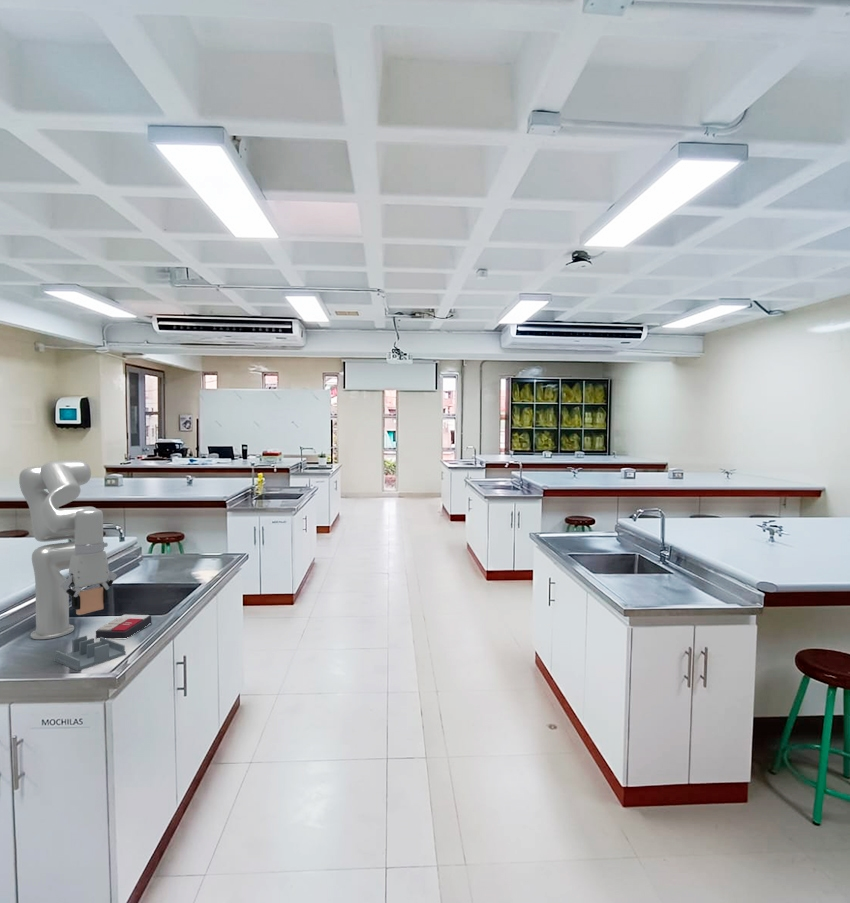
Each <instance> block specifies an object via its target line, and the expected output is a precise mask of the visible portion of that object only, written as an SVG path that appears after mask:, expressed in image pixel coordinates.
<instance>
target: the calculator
mask: <svg viewBox="0 0 850 903" xmlns="http://www.w3.org/2000/svg"><path fill="white" fill-rule="evenodd" d="M149 623H151V624H152V616H151V615H150V614H123V615H121V616H119V617H117V618H114V619H113V620H111V621H109V622H107V623H105V624H104V625H102V626H100V627H99V628H97V630H95V638H96V639H97V638H100V637H103V638H127V637H129V638H130V637H132V636H134V635H135V634H134V633H136V632H137V631H139V630H140V631H142V630H143V629H142V628H144V627H145V626H147V625H148V624H149ZM141 629H142V630H141ZM144 629H145V628H144ZM140 631H139V632H140ZM137 633H138V632H137ZM137 633H136V634H137ZM133 634H134V635H133ZM131 635H132V636H131ZM127 639H128V638H127Z"/></svg>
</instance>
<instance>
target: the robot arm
mask: <svg viewBox="0 0 850 903" xmlns="http://www.w3.org/2000/svg"><path fill="white" fill-rule="evenodd" d="M91 475H92V471H91V468H90V465H89V464H88V463H87V462H86V461H83V460H77V459H74V460H73V459H72V460H71V459H70V460H52V461H49V462H46V463H44V464H43V465H36V466H35V465H34V466H29V467H26V468H24V469H22V470H21V472H20V473H19V477H18V479H19V480H18V481H19V488H20V491H21V493H22V495H23V497H24V499H25V502H26V503H27V505H28V508H29V513H30V514H29V515H30V521H31V527H32V533H33V537H34V539H35V540H36V541H37V542H42V543H48V542H56V541H63V540H70V541H67V542H58V543H57V542H56V543H50V544H45V545H42V546H41V545H40V546H39V547H37V548H35V549H34V550H33V551H32V553H31V561H32V562H31V563H32V567H33V573H34V583H35V585H34V586H35V589H34V590H35V592H34V593H35V630H33V631H32V632H31V633H30V638H31V639H33V640H48V639H49V640H51V639H55V638H59V637H64V636H66V635H69V634H71V633H72V632H73V631H75V626H74V625H73V624H70V605H69V604H70V602H69V601H70V597H71V607H72V608H73V609H74V610H76V609H77V610H79V609H80V596H78V595H79V593H80V591H81V590H83V589H82V588H86V587H91V586H95V585H98V586H101V587H103V604H106V603H107V602H108V601H107V600H108V590H109V589H110V587H111V585H112V584H113V583H114V581H115V580H116V578H117V577H118V575H117V574H116V573H115V572H113V571H111V570H109V561H108V556H107V552H106V550H105V548H106V547H108V542H105V541H104V513H103V510H101V509H98V508H96V507H94V506H78V507H64V508H60V507H62V506H65V505H67V504H70V503H71V502H73V501H75V500H76V499H78V497H79V496H80V494H81V486H82V485H85V484H87V483H88V482H89V481H90V479H91ZM46 490H47V491H46ZM65 570H68V577H66V576H65V575H63V574H62V573H61V572H60V571H65ZM69 586H70V587H72V588H70V587H69Z"/></svg>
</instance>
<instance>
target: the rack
mask: <svg viewBox="0 0 850 903" xmlns="http://www.w3.org/2000/svg"><path fill="white" fill-rule="evenodd" d="M71 640H72V641H71V644H72V645H71V646H72V649H71V650H72V651H71V652H69V653H65V652H62V651H59V650H55V656H54V662H56V663H58V664H60V665H63V666H65V667H68V668H70V669H72V670H74V671H78V672H79V671H81V670H84V669H88V668H91V667H93V666H94V667H95V665H99V664H103V663H105V662H107V661H111V660H114V659H116V658H119V657H122V656H125V655H127V654H126V646H125V645H124V644H122V643H119V642H116V641H113V640H112V639H105V638H103V637H100V639H99V641H96V642H95V638H94V637H91V638H89V639H88V635H83V636H80V637H77V638H73V639H71Z"/></svg>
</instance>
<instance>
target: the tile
mask: <svg viewBox="0 0 850 903" xmlns="http://www.w3.org/2000/svg"><path fill="white" fill-rule="evenodd" d="M78 596H80V609H79V610H77V609H75V614H76V615H78V616H81V615H85V614H90V613H93V612H96V611H101V610H104V603H103V587H101V586H99V585H98V586H94V587H91V588H85V589H81V591H80V593H79V595H78Z"/></svg>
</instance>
